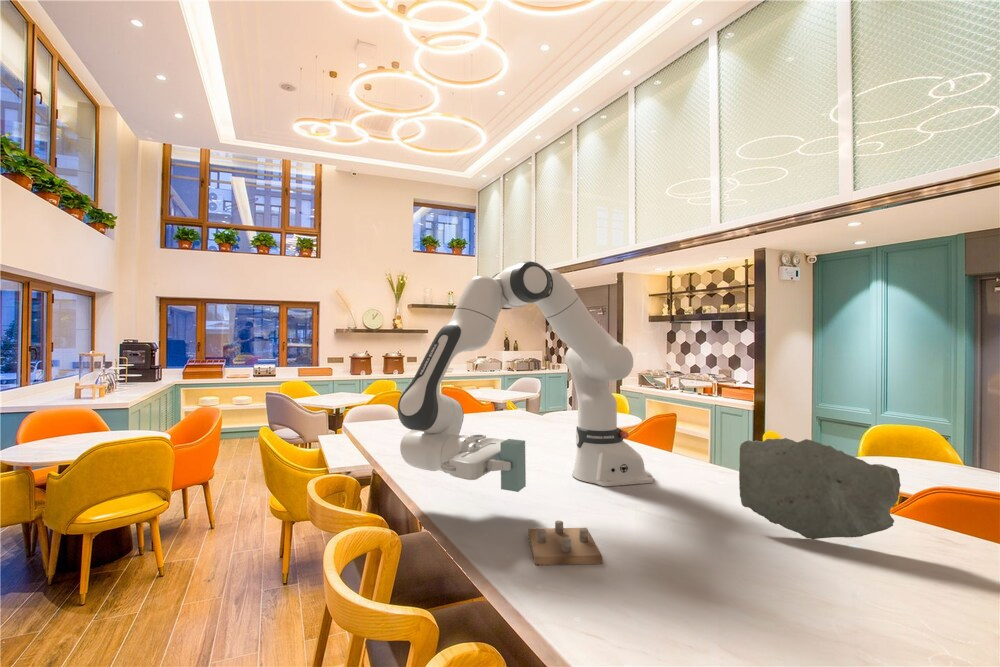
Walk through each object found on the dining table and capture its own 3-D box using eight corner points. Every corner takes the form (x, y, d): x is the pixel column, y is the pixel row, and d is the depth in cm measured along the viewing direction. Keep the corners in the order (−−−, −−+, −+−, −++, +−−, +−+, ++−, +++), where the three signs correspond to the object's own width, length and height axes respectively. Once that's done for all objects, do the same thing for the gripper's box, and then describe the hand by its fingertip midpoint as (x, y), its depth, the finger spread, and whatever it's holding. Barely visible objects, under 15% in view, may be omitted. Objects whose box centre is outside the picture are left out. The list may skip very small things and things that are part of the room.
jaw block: (501, 489, 100) (500, 442, 100) (509, 483, 104) (508, 438, 104) (517, 492, 98) (517, 444, 98) (525, 486, 102) (525, 440, 102)
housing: (586, 534, 96) (586, 517, 96) (601, 563, 84) (601, 544, 84) (528, 535, 95) (528, 518, 95) (535, 565, 83) (535, 545, 83)
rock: (895, 547, 90) (895, 443, 90) (904, 561, 84) (904, 451, 84) (739, 521, 103) (739, 430, 103) (738, 531, 97) (738, 435, 97)
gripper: (435, 452, 98) (493, 460, 92) (483, 432, 116) (535, 438, 110) (436, 482, 98) (494, 492, 92) (484, 458, 116) (535, 464, 110)
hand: (516, 462), depth 101 cm, fingers closed on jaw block, 4 cm apart
